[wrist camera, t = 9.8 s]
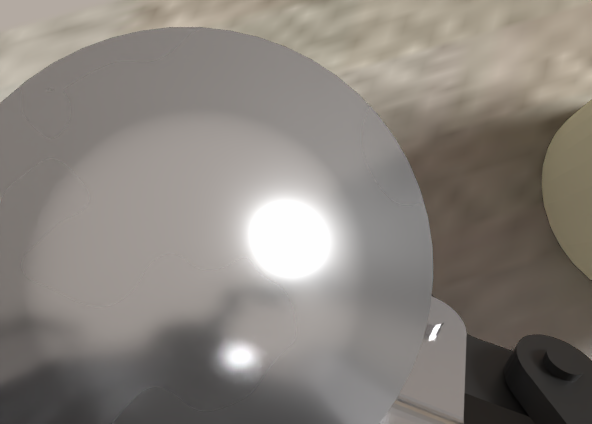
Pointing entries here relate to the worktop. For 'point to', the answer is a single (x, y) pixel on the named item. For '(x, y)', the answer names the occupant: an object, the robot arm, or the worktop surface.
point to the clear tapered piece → (204, 239)
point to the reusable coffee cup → (571, 187)
